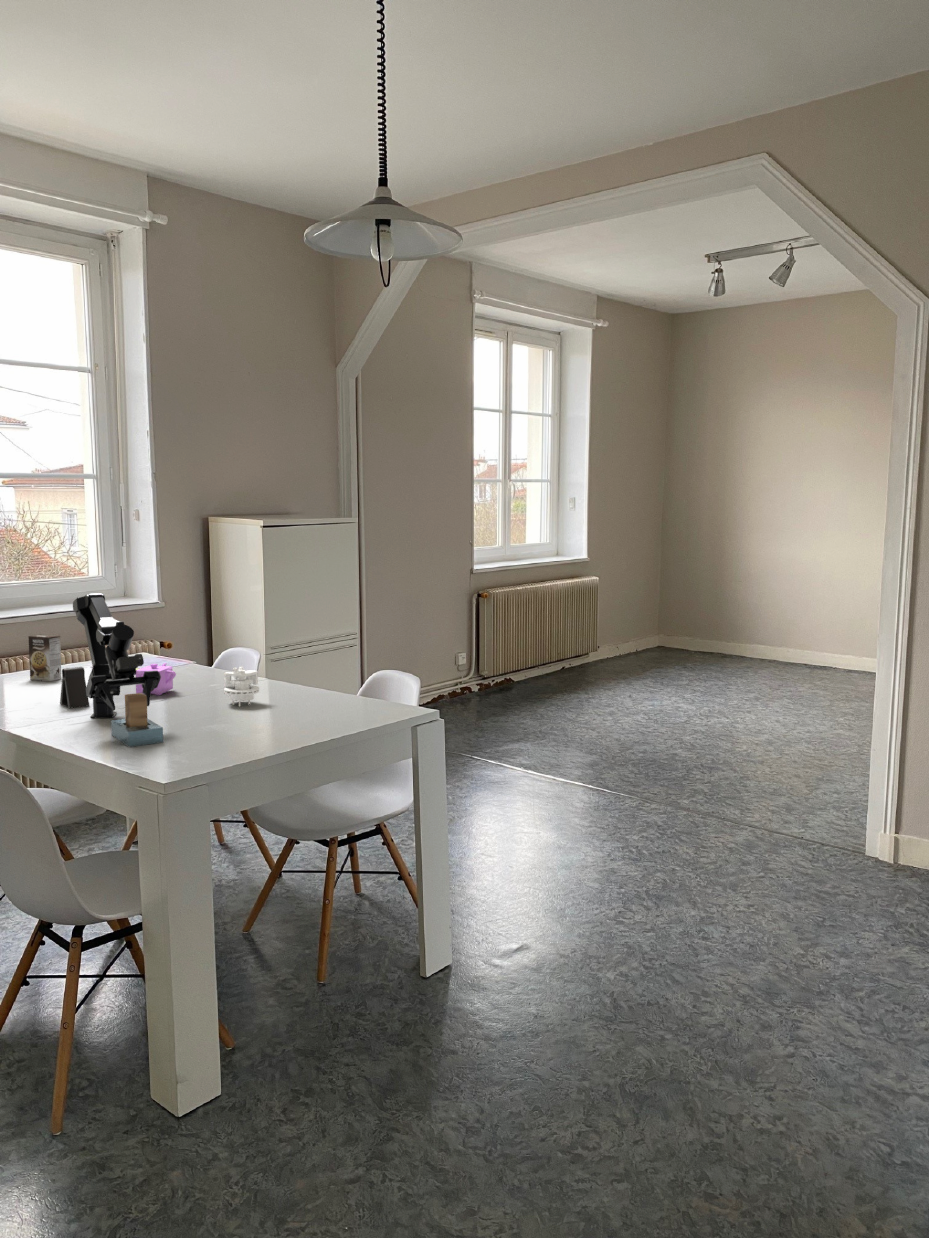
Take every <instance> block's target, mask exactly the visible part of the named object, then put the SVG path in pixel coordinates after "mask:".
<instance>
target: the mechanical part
mask: <svg viewBox="0 0 929 1238" xmlns="http://www.w3.org/2000/svg"><path fill="white" fill-rule="evenodd" d="M258 673H259V671H258V670H254V669H253V670H249V669H248V670H245V667H244V666H238V667H233V668H232V671H227V672H224V679H223V693H224V695H227V696H228V698H230V699H229V700H231V701H232V704H231V705H232V706H234V705H235V702H239V703H238V707H241V702H247V703H248V705H249V704H250V705H251V701H252V700H254V698H255V694H257V693H260V686H258V685H259V679H258V678H259V676H258V675H259V674H258Z"/></svg>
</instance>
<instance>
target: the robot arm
mask: <svg viewBox="0 0 929 1238" xmlns="http://www.w3.org/2000/svg"><path fill="white" fill-rule="evenodd" d="M72 610H73V612H74V613H75V615H76V616H75V617H76V619H77V621H78V622H79V623H80V624H82V625H83V626H84V631H85V636H86V641H87V646H88V651H89V654H90V655H89V656H90V660H91V665H92V670H91V672H90V674H89V676H88V680H87V683H86V695H87V697H88V699H92V707H93V708H92V709H93V711H92V712H93V713H92V714H91V715H90V716H89V717H90V719H105V718H106V719H107V718H108V719H109V718H114V717H115V716H116V715H117V714H118V711H115V710H116V704H115V700H114V697H115V696H120V695H121V687H125V686H128V687H129V686H136V685H138V684H142V688H143V694H145V695H146V696H147V707H149V706H150V704H151V695H152V694H151V691H153V690H154V689H155V688H157V687H158V684H159V681H160V679H161V676H160V673H159V672H158V671H157V670H155V671H145V672H144V675H143V677H136V676H135V674H136V670H137V668H138V667H142V666H143V665H144V663H145V662H144V661H145V660H144V656H143V654H142V653H136V654H135V655H130V656H129V654H128V651H129V650H130V649H131V645H132V642H133V639H134V636H135V635H134V634H135V630H134V629H133V628H132V627H131V626H130V625H128V624H125V623H124V621H119V620H117V619H116V618H114V617H113V615H112V613H111V610H110V608H109V606H108V604H107V603H106V596H105V595H104V594H103V593H100V592H99V593H87V594H85V595H84V596H77V597H76V598H75V599H74V600H73V601H72ZM138 669H139V668H138Z"/></svg>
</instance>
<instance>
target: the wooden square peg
mask: <svg viewBox="0 0 929 1238" xmlns="http://www.w3.org/2000/svg"><path fill="white" fill-rule="evenodd" d="M124 711H125V718H124V719H126V726H127V727H137V726H145V725H148V722H147V718H148V706H147V696H146V695H145V694H143V693H136V692H135V693H128V694H124Z"/></svg>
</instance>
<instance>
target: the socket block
mask: <svg viewBox="0 0 929 1238" xmlns="http://www.w3.org/2000/svg"><path fill="white" fill-rule="evenodd" d="M110 722H111V735H112V736H113V737H114V738H116V739H117V740H118V741H120V742H121V743H123V744H124V745H126V747H129V748H130V747H138V746H145V745H152V744H160V743H164V728H163V727H162V726H161V725H159V724H157V723H156V722H154V721H153V720H151V719H149V718H148V717H147V722H148V725H145V726H137V727H127V726H126V718H121V719H114V720H111V721H110Z"/></svg>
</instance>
